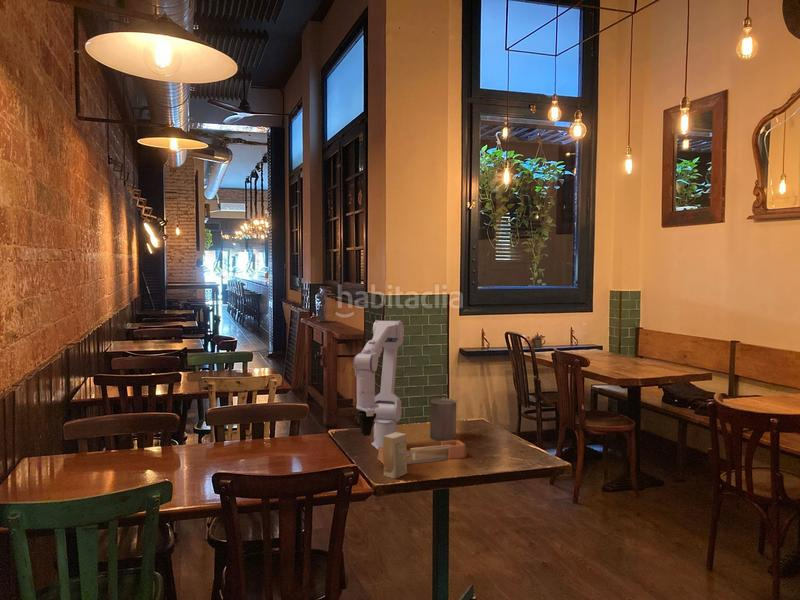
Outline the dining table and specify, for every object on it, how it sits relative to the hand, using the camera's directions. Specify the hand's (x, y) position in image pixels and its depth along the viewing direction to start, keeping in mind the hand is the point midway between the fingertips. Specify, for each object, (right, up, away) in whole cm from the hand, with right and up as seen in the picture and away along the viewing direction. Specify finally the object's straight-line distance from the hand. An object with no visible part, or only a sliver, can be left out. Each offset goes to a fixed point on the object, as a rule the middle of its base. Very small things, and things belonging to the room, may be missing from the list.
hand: (366, 434), depth 197 cm
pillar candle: (+27, -9, +34) cm, 44 cm away
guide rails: (+15, -9, +5) cm, 18 cm away
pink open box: (+28, -9, +10) cm, 31 cm away
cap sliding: (+8, -9, +3) cm, 12 cm away
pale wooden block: (+21, -10, +7) cm, 25 cm away
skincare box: (+9, -10, -11) cm, 18 cm away
